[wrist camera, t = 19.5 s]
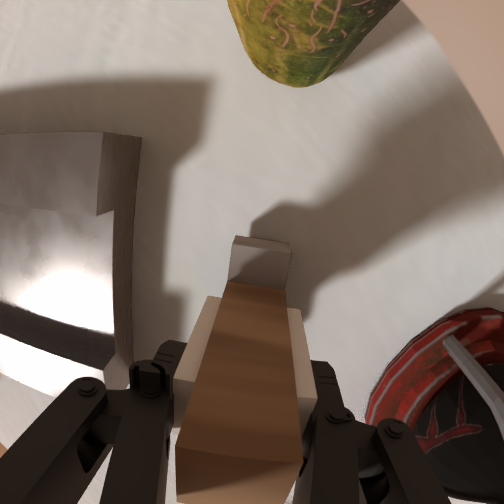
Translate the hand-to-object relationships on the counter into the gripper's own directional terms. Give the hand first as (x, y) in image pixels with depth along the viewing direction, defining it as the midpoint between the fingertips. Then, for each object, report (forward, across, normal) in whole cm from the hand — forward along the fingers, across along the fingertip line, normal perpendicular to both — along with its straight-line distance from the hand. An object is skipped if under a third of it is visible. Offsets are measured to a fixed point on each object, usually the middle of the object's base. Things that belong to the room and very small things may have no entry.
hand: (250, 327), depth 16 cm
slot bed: (+5, +18, 0) cm, 19 cm away
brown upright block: (+4, 0, 0) cm, 4 cm away
